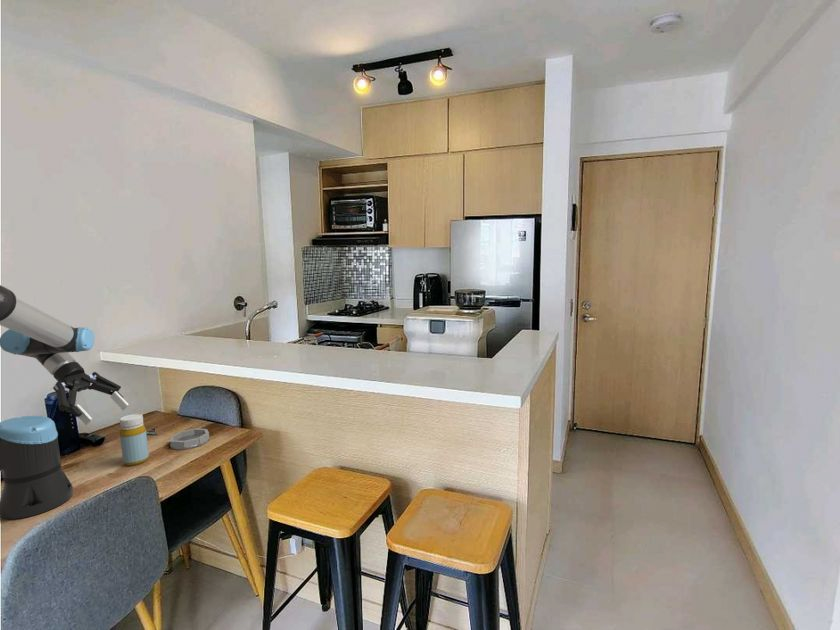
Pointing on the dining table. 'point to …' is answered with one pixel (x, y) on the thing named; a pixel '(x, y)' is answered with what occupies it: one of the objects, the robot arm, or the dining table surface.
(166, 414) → the dining table surface
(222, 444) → the dining table surface
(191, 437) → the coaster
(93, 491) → the dining table surface
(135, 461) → the bottle
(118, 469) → the dining table surface
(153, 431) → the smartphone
